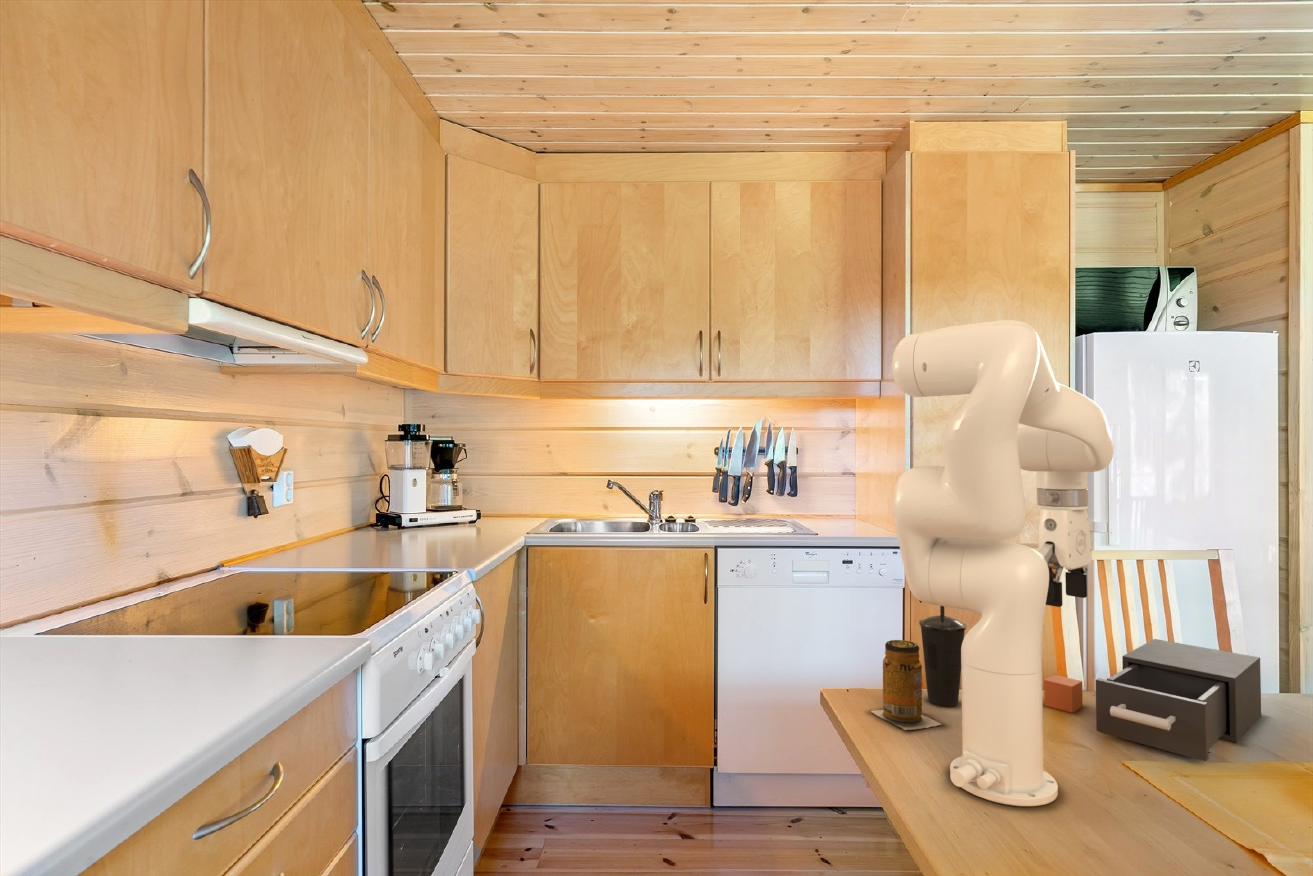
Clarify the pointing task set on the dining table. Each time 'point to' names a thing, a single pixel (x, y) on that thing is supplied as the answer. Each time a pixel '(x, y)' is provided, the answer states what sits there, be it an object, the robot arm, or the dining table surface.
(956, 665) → the drinking cup
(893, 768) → the dining table surface
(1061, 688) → the block
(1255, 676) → the cabinet
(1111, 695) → the drawer
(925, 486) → the robot arm
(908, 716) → the condiment
